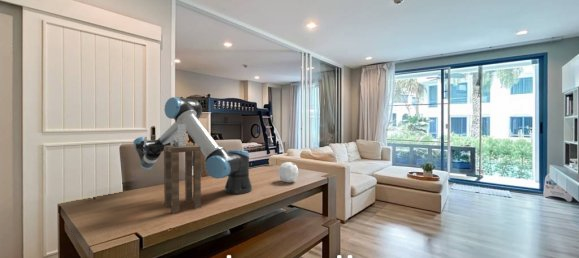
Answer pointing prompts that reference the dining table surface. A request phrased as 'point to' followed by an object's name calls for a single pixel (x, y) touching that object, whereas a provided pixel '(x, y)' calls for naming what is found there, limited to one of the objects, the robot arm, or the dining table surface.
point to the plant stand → (173, 176)
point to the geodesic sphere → (288, 172)
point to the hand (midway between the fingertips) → (160, 138)
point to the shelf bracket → (181, 136)
